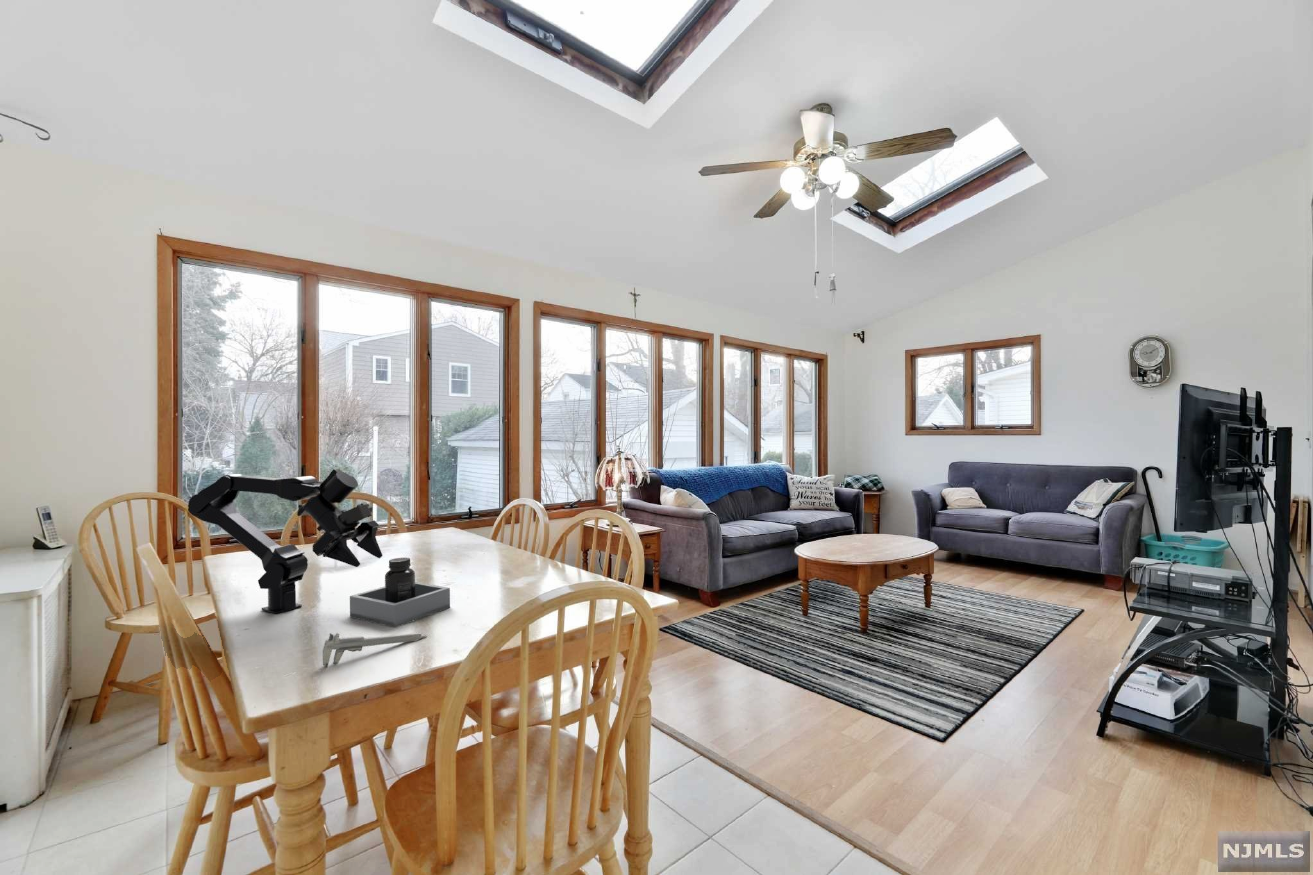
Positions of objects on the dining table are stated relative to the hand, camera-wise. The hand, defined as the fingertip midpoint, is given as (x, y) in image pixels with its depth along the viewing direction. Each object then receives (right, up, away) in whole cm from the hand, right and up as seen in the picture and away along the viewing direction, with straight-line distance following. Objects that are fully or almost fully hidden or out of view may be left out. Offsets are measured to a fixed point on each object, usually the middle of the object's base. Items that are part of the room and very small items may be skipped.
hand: (370, 561), depth 141 cm
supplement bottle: (+8, -12, 0) cm, 14 cm away
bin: (+8, -12, -1) cm, 15 cm away
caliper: (+14, -13, -25) cm, 32 cm away
